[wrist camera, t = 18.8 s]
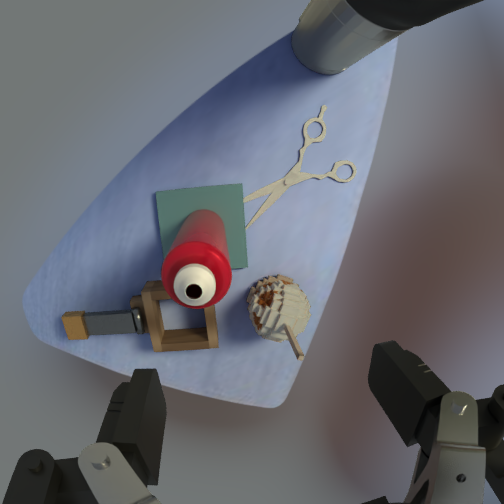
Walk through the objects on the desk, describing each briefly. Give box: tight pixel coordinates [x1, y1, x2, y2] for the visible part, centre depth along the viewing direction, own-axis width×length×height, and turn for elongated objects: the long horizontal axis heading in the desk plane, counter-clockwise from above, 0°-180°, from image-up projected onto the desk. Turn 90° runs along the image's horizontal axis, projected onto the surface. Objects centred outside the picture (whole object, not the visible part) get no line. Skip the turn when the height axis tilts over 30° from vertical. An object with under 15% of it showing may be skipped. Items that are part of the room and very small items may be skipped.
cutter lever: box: [61, 307, 145, 340], centre depth 39 cm, size 12×4×2 cm, turn 94°
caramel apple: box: [246, 274, 311, 361], centre depth 37 cm, size 8×8×15 cm
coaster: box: [156, 184, 248, 269], centre depth 40 cm, size 11×11×1 cm
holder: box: [130, 280, 219, 352], centre depth 41 cm, size 9×12×4 cm
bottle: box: [161, 209, 232, 309], centre depth 30 cm, size 6×6×20 cm
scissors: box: [243, 105, 356, 230], centre depth 40 cm, size 11×1×20 cm
